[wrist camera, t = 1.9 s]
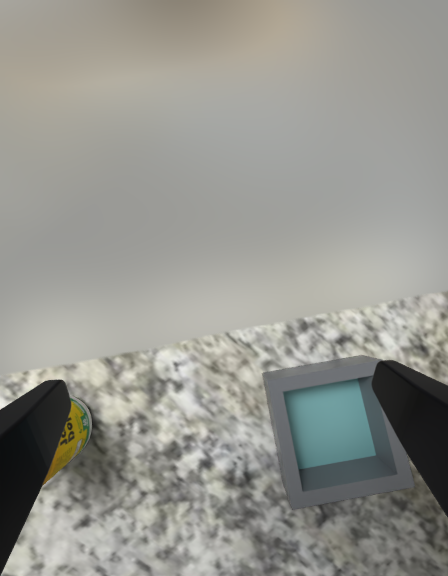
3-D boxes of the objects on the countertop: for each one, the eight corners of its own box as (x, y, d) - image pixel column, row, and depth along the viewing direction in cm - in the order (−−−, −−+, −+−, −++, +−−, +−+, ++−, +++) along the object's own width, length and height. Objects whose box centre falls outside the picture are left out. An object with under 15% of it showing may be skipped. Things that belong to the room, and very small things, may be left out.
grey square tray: (388, 464, 21) (415, 486, 18) (283, 483, 21) (292, 509, 18) (361, 355, 22) (382, 359, 19) (261, 372, 22) (267, 380, 19)
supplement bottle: (20, 430, 22) (-137, 511, 13) (63, 380, 23) (-57, 421, 13) (65, 473, 21) (-64, 591, 12) (107, 421, 22) (16, 494, 13)
